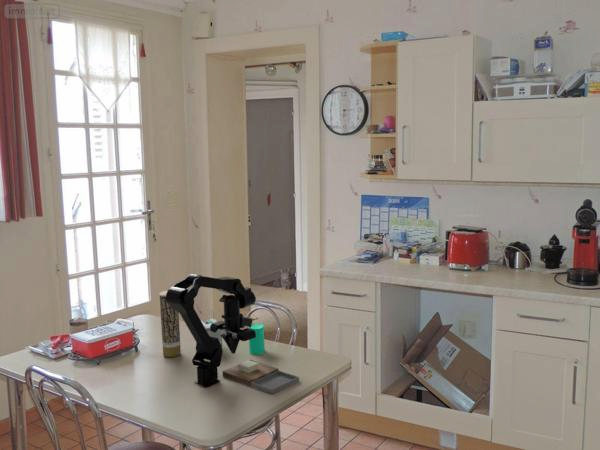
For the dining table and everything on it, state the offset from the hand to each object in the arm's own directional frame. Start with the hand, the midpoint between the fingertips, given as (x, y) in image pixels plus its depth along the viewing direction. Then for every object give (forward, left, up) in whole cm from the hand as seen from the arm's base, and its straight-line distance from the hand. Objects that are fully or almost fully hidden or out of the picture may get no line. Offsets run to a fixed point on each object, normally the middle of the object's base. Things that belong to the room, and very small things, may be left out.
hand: (233, 353), depth 228 cm
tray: (0, -21, -6) cm, 22 cm away
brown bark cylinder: (-5, +31, -6) cm, 32 cm away
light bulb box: (+9, +24, -7) cm, 26 cm away
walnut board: (0, -8, -6) cm, 11 cm away
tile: (0, -7, -4) cm, 9 cm away
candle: (+18, +7, -7) cm, 20 cm away
